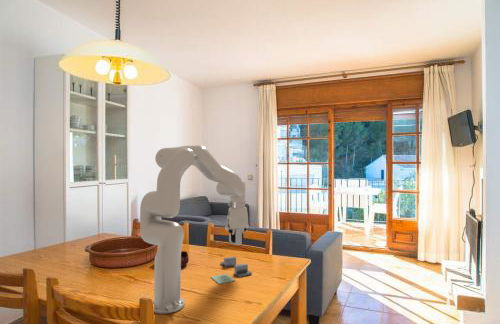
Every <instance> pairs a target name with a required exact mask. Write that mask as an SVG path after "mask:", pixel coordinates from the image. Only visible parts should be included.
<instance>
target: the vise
mask: <svg viewBox="0 0 500 324" xmlns="http://www.w3.org/2000/svg"><path fill="white" fill-rule="evenodd" d="M220 266H222V267H225V268H229V267H234V268H233V269H234V272H233V273H234V274H235V276H236V277H238V278H242V277H247V276H248V277H249V276H251V275H252V274H253V273H252V272H251V270H249V269H248V268H249V267H248V266H249V264H247V263H244V262H243V263H240V264H237V256H236V257H235V256H229V257H228V256H227V257H224V258H223V261H221V262H220Z"/></svg>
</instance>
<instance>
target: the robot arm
mask: <svg viewBox="0 0 500 324" xmlns="http://www.w3.org/2000/svg"><path fill="white" fill-rule="evenodd" d="M155 163H156V165H157V166H158V167H159V168H161V169H160V170H159V173H158V175H157V179H156V190H153V191H149V192H147V193H146V194H145V195H144V196H143V197H142V200H141V202H140V206H139V207H140V208H139V212H140V213H139V215H140V216H139V225H140V226H139V231H140V237H141V239H142V241H144V242H145V243H147V244H150V245H154V246H158V250H157V252H156V254H155V257H154V279H153V281H154V286H153V287H154V295H153V297H154V298H153V300H152V301H153V304H154V312H153V313H155V314H161V315H163V314H171V313H176V312H178V311H181V310H182V309H183V308H184V307H185V299H184V298H183V297H182V296H181V295H182V291H181V289H182V288H181V284H182V283H181V282H182V281H181V280H182V279H181V278H182V277H181V276H182V275H181V274H182V267H181V251H182V247H183V243H184V236H185V232H184V228H183V226H182V225H181V224H179V223H178V222H175V221H172V220H165V219H162V218H166V219H171V218H172V219H173V218H175V217H176V216H177V215H178V214H179V213H180V209H181V208H180V207H181V180H182V177H183V175H184V174H185V172H186V171H187V170H188V169H189V168H190V167H191V166H194V167H195V168H196V169H197V170H198V171H199V172H200V173H201V174H202V175H203V176H204V177H205V178H206V179H207V180H210V181H213V182H214V183H217V184H216V185H215V186H216V187H215V189H216V192H217V194H219V195H220V196H223V197H225V196H226V197H229V202H228V203H227V206H229V207H228V211H227V217H226V224H225V227H224V230H226V232H228V233H229V234H231V242H233V243H235V235H234V233H235V229H239V228H242V243H243V241H244V234H245V232H246V231H247V229H249V228H250V224H249V215H248V214H249V213H248V208H247V207H246V182H245V181H244V180H243V179H242V178H241V177H240V176H239V175H238V174H237V173H236V172H235V171H234V170H233V171H232V170H231V169H229V168H227V167H225V166H223V165H221V164H220V162H219V161H218V160H217V159H216V158H215V157H214V156H213V154H212V153H211V152H210V151H209V149H207V148H206V147H205V146H204V145H198V144H197V145H195V144H194V145H181V146H176V147H175V146H174V147H163V148H161V149H159V150H157V152H156V153H155ZM231 242H230V243H231Z"/></svg>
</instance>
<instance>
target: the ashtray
mask: <svg viewBox="0 0 500 324" xmlns="http://www.w3.org/2000/svg"><path fill="white" fill-rule="evenodd" d="M188 263H189V253H188V252H187V251H182V250H181V268H182V267H185V266H186V265H188Z"/></svg>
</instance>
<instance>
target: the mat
mask: <svg viewBox="0 0 500 324" xmlns="http://www.w3.org/2000/svg"><path fill="white" fill-rule="evenodd" d="M210 278H211V279H212V280H213V281H215V282H216V283H217V284H218V285H222V284H228V283H232V281H233V282H236V280H235V279H234V278H233V277H231V276H230V275H229V274H227V273H225V274H218V275H213V276H210Z"/></svg>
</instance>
